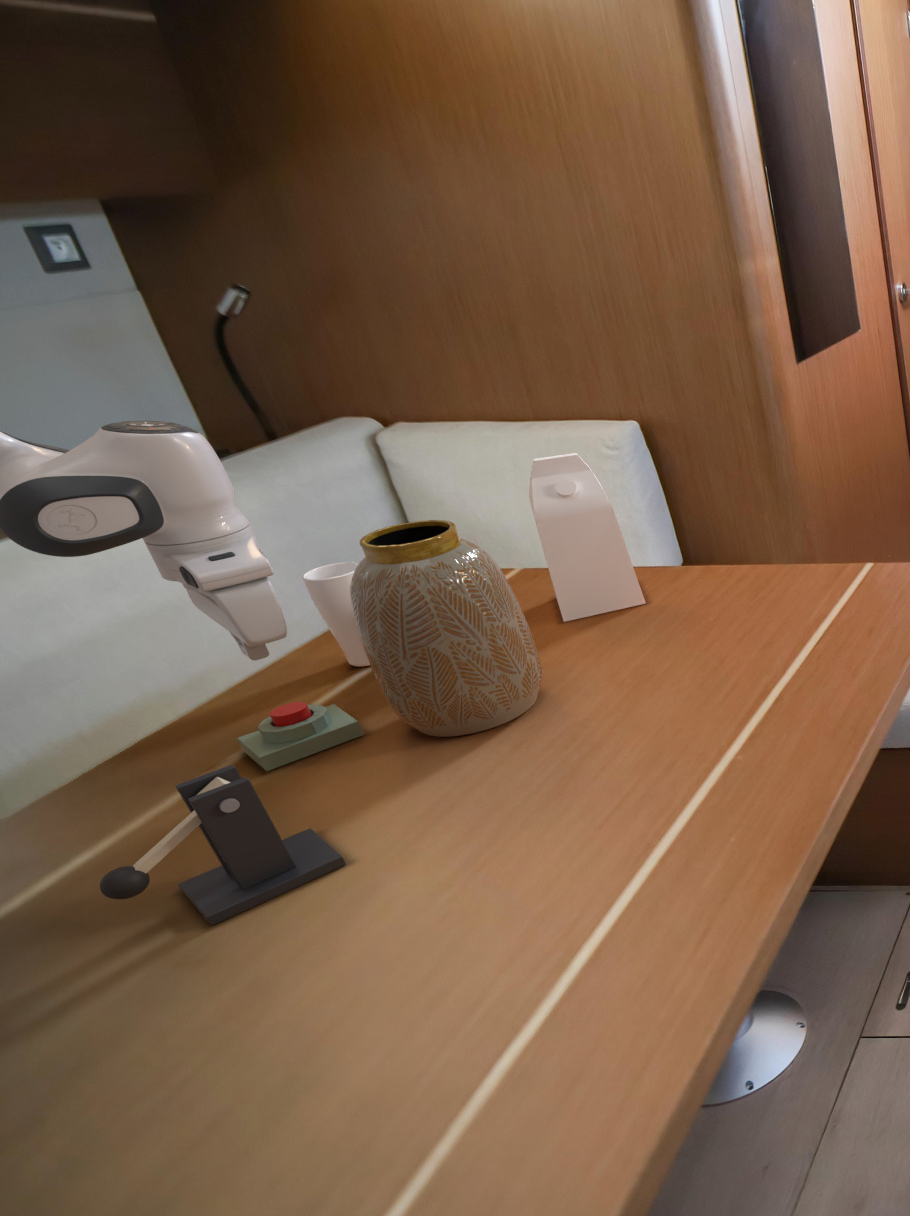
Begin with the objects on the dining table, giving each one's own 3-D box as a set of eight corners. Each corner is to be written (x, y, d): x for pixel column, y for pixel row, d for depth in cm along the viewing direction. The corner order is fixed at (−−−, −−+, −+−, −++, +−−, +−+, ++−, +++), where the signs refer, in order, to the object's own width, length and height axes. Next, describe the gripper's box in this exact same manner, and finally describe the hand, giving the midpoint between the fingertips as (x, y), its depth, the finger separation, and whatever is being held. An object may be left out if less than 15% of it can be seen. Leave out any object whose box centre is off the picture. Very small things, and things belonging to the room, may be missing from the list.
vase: (570, 674, 143) (513, 505, 131) (524, 736, 128) (455, 552, 117) (437, 687, 139) (365, 514, 127) (373, 753, 124) (285, 564, 112)
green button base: (266, 771, 120) (252, 745, 119) (244, 751, 124) (230, 726, 122) (364, 734, 128) (352, 709, 126) (340, 717, 132) (328, 692, 130)
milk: (634, 581, 173) (593, 442, 162) (645, 603, 165) (603, 459, 154) (556, 598, 167) (507, 454, 155) (563, 621, 159) (513, 472, 147)
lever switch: (132, 909, 94) (94, 897, 91) (122, 896, 95) (85, 885, 93) (254, 796, 100) (221, 783, 97) (243, 786, 101) (210, 772, 99)
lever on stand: (211, 926, 97) (150, 826, 91) (182, 892, 101) (122, 795, 96) (346, 864, 106) (298, 769, 100) (314, 835, 110) (266, 743, 104)
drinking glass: (397, 663, 145) (358, 574, 139) (339, 674, 142) (296, 583, 135) (403, 645, 150) (366, 558, 144) (347, 655, 147) (306, 567, 140)
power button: (280, 730, 122) (275, 719, 122) (270, 722, 124) (264, 711, 123) (316, 718, 125) (311, 706, 124) (306, 710, 127) (300, 698, 126)
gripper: (144, 543, 116) (194, 643, 122) (201, 582, 107) (252, 689, 113) (214, 528, 121) (260, 625, 127) (275, 565, 112) (320, 667, 118)
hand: (257, 655), depth 120 cm, fingers closed
